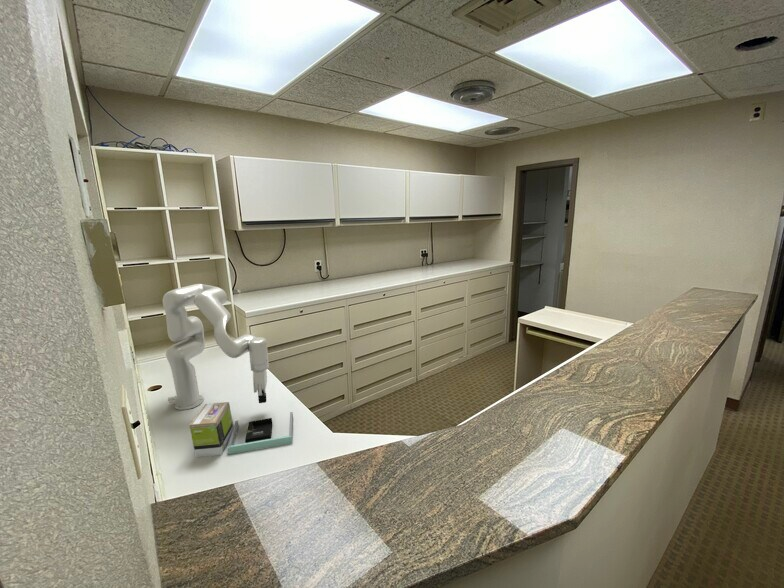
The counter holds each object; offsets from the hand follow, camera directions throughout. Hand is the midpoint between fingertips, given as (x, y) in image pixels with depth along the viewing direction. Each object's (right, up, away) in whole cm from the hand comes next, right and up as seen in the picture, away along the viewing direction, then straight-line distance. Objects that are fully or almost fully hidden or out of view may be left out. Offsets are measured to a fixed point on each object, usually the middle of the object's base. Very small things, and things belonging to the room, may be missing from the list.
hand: (262, 401), depth 162 cm
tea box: (-12, -12, -18) cm, 25 cm away
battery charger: (+4, -11, -13) cm, 18 cm away
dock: (+5, -10, -13) cm, 17 cm away
